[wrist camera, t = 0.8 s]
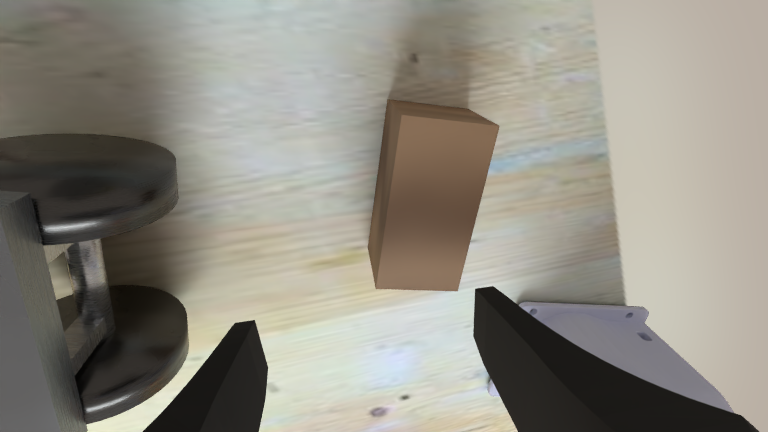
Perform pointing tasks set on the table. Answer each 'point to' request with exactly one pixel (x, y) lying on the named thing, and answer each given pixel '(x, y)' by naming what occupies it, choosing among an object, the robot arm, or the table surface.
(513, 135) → the table surface
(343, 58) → the table surface
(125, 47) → the table surface
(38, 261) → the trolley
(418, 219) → the block
